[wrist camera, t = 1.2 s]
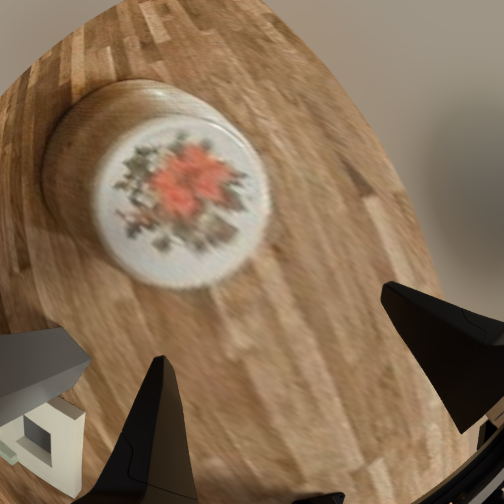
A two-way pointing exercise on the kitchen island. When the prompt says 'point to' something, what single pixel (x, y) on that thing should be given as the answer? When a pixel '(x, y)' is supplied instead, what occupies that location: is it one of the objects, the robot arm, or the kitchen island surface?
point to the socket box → (48, 444)
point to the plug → (37, 369)
